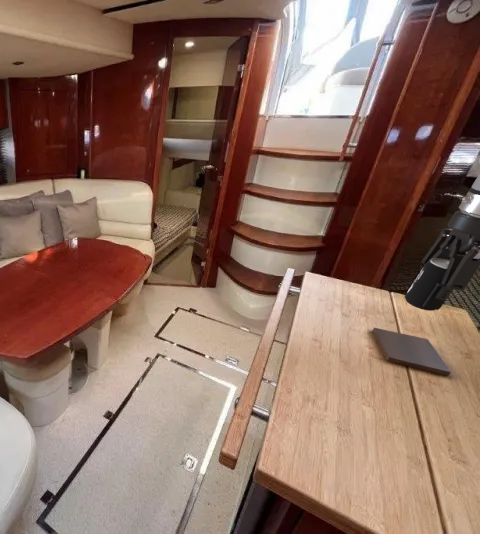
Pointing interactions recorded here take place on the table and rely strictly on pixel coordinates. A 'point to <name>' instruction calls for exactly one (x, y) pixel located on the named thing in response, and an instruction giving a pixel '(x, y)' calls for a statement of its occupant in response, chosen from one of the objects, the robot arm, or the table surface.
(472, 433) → the table surface
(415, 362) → the walnut board
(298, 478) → the table surface
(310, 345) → the table surface
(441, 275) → the beverage can
